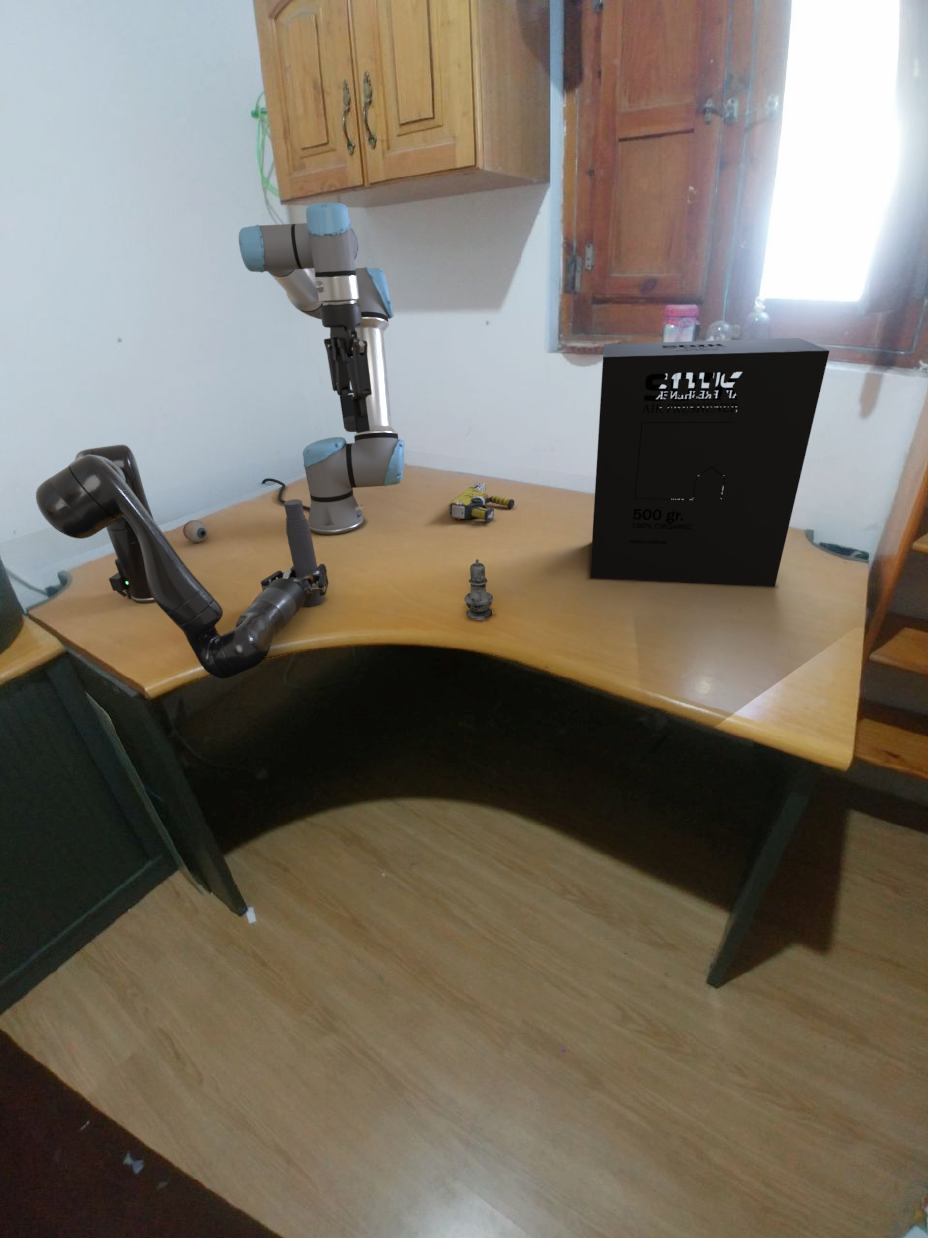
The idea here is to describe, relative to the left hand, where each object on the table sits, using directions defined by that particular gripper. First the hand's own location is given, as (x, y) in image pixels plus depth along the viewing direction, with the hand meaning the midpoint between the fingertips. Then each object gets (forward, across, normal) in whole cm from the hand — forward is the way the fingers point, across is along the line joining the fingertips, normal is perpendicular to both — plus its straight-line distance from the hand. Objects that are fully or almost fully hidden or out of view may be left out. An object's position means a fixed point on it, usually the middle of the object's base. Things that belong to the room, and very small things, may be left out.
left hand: (311, 567), depth 129 cm
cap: (+12, -10, -28) cm, 32 cm away
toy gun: (+55, -30, +7) cm, 63 cm away
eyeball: (+27, +45, +7) cm, 53 cm away
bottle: (-3, 0, +7) cm, 7 cm away
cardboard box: (+22, -78, +7) cm, 81 cm away
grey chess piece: (-5, -37, +7) cm, 38 cm away
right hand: (+12, -10, -26) cm, 31 cm away
